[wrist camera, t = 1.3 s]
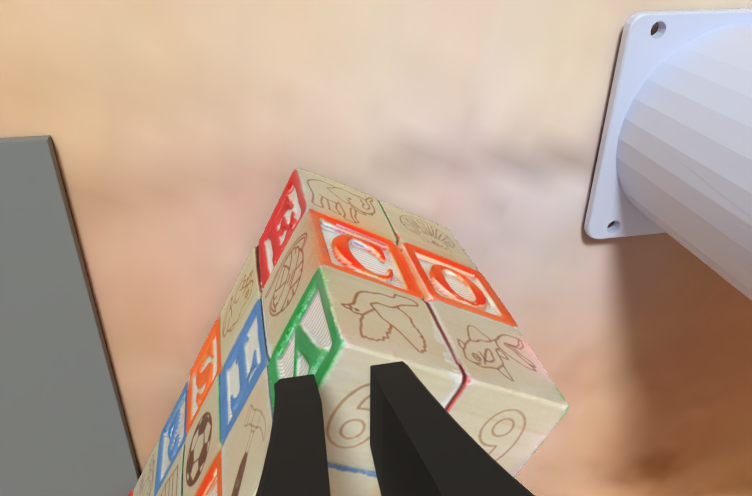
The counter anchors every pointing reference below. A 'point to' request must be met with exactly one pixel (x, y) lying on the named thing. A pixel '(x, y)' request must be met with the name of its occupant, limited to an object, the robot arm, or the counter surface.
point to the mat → (52, 344)
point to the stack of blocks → (349, 346)
